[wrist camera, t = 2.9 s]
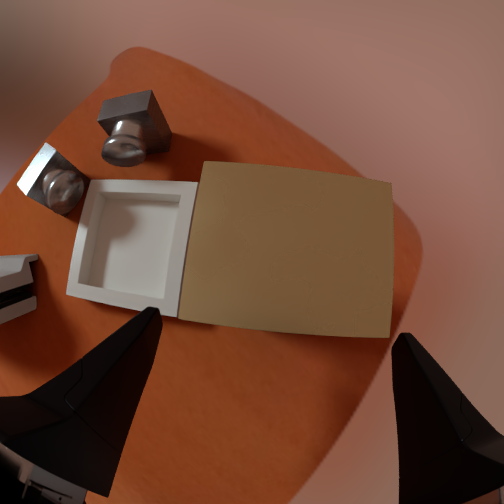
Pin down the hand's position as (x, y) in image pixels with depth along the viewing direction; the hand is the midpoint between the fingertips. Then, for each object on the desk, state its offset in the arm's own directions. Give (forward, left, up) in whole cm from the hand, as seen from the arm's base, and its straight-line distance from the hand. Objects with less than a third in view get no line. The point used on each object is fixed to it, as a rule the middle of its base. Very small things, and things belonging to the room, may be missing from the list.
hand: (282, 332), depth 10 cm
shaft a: (+16, -6, -9) cm, 19 cm away
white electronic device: (+24, +15, -10) cm, 30 cm away
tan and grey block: (+1, -2, -9) cm, 10 cm away
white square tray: (+11, +1, -9) cm, 15 cm away
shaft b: (+19, +1, -9) cm, 21 cm away
